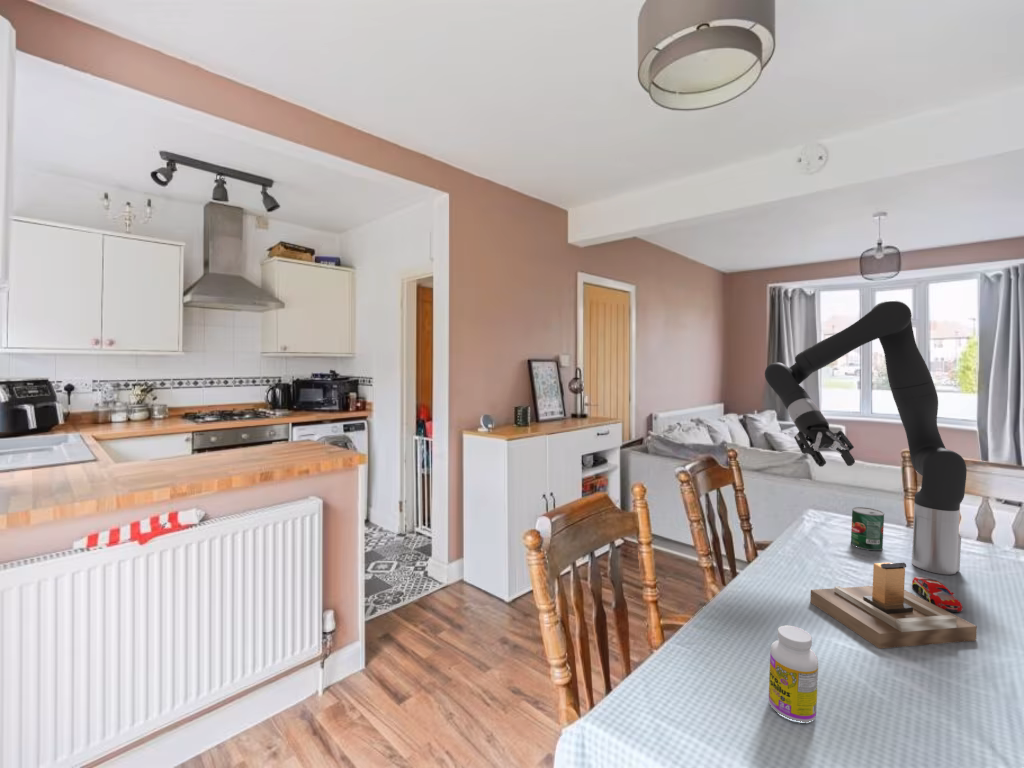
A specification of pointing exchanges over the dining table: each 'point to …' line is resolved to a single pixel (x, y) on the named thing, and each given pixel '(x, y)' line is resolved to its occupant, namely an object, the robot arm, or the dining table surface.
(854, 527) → the canned tomato
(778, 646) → the supplement bottle
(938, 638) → the dock
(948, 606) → the race car
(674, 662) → the dining table surface
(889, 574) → the block with metal roller
